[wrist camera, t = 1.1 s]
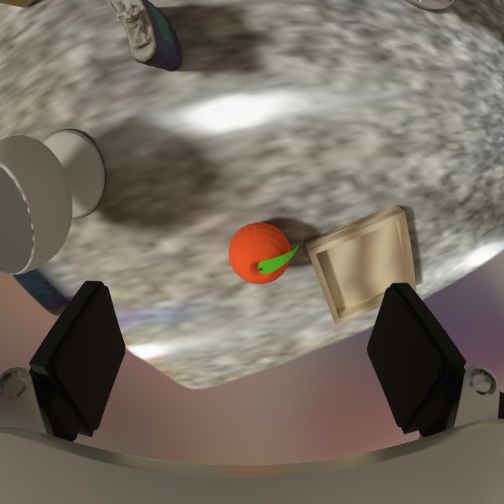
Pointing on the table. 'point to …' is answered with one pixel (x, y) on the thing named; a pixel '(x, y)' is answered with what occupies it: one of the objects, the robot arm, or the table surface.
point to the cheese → (17, 2)
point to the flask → (149, 34)
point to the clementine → (260, 253)
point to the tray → (362, 262)
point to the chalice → (44, 195)
